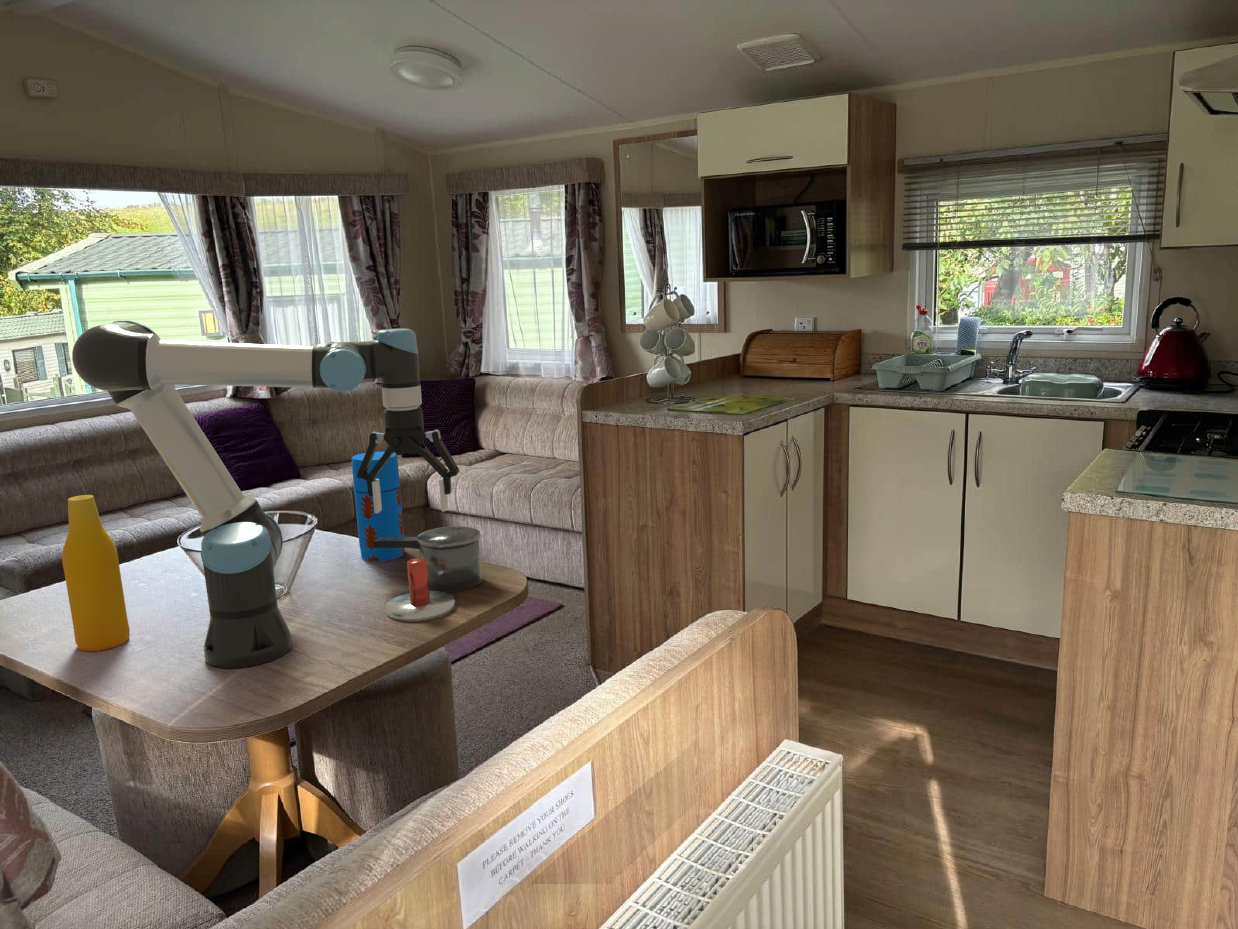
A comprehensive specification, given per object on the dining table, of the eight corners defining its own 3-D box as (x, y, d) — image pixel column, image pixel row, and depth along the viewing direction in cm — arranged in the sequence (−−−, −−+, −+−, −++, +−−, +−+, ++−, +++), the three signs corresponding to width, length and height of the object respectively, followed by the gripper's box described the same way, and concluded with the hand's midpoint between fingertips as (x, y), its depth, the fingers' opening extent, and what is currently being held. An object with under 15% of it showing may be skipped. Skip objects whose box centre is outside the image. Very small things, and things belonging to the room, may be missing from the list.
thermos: (352, 561, 224) (343, 460, 219) (371, 547, 235) (363, 451, 229) (394, 562, 223) (386, 460, 217) (412, 548, 233) (404, 451, 227)
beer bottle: (65, 648, 177) (40, 501, 170) (109, 630, 185) (86, 490, 179) (98, 655, 173) (74, 505, 167) (141, 637, 181) (119, 493, 175)
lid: (446, 622, 184) (442, 571, 182) (377, 622, 185) (372, 573, 183) (461, 597, 198) (458, 550, 196) (397, 598, 199) (393, 551, 197)
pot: (476, 592, 200) (473, 543, 198) (370, 594, 201) (365, 545, 199) (488, 571, 213) (485, 525, 211) (388, 573, 215) (384, 527, 212)
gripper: (468, 402, 187) (475, 504, 191) (346, 406, 188) (356, 507, 192) (461, 408, 180) (469, 513, 184) (334, 412, 180) (345, 517, 185)
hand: (411, 510), depth 188 cm, fingers open, 13 cm apart
